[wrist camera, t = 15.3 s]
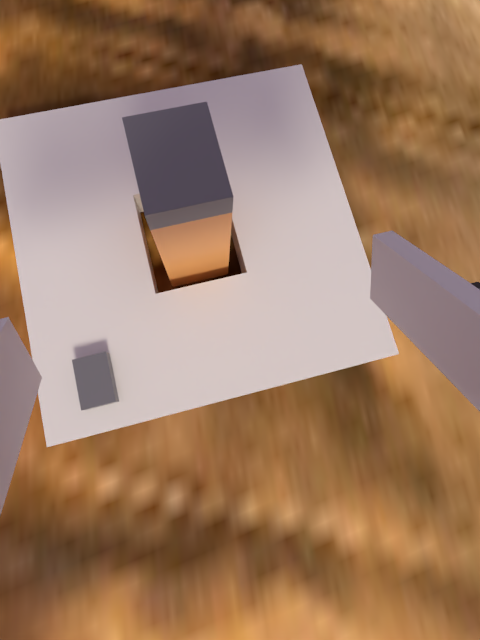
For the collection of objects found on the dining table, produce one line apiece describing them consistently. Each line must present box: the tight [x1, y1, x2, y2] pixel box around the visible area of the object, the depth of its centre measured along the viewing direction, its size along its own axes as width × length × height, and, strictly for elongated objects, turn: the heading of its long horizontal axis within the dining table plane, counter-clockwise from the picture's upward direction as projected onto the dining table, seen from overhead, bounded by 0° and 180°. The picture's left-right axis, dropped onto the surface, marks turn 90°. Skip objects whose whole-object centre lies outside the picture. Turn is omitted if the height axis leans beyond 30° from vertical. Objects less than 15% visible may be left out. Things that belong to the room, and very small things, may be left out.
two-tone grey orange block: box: [122, 102, 233, 287], centre depth 24 cm, size 5×4×11 cm
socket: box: [0, 64, 399, 447], centre depth 28 cm, size 22×22×3 cm
